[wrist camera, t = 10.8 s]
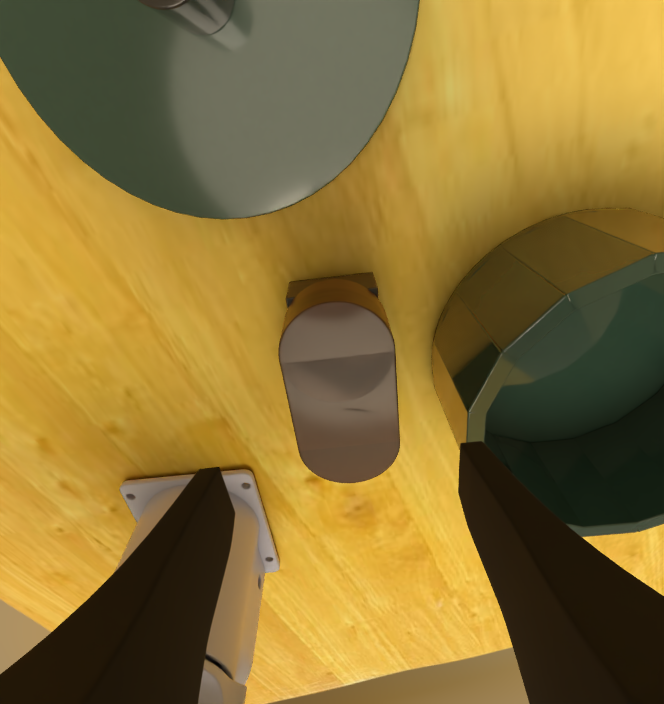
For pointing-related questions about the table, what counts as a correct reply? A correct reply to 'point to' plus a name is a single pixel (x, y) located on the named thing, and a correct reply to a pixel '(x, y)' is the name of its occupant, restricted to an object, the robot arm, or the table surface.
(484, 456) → the robot arm
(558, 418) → the pot
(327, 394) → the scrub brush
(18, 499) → the table surface
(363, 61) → the lid
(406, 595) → the table surface
